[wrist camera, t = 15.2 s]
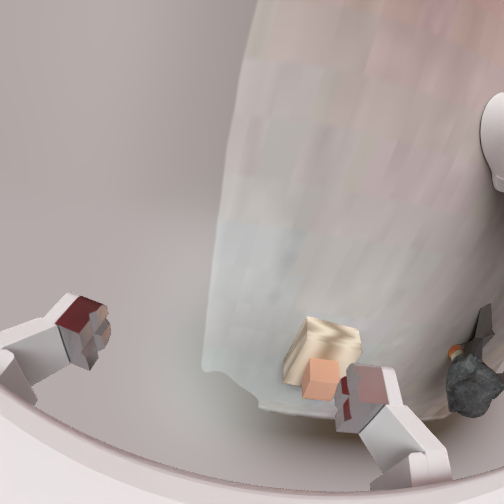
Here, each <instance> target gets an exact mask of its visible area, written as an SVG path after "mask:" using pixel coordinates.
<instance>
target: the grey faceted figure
mask: <svg viewBox="0 0 504 504" xmlns="http://www.w3.org/2000/svg"><path fill="white" fill-rule="evenodd" d="M494 335H495V333H494V332H493V330H492V317H491V303H490V304H488V305H487V306H485V307H483V308H481V309H480V313H479V319H478V324H477V329H476V334H475V338H474V339H472V340H471V341H469V342H467V343H465V344H460V345H459V344H458V345H455V346H453V347H451V349H450V350H449V352H448V355H449V357H450V359H451V360H452V363H453V364H452V365H451V366H450V368H449V371H448V374H447V378H446V379H447V381H446V392H447V398H448V408H449V411H450V412H456V411H457V412H458V413H459V414H460V415H462V416H466V417H470V418H476V417H480V416H482V415H484V414H485V412H486V411H487V410H488V408H489V406H490V403H491V401H492V399H495V398H496V397H497V396H498V395H499V394H500V393H501V392H502V391H503V390H504V372H503V373H500V374H496V373H495V372H494V371H493V370H492V369H490V368H489V367H488V366H487V365H486V364H485V363H484V362H483V361H482V348H483V347H484V346H485V345H486V343H487V342H488V341H489V340H490V339H491V338H492V337H493V336H494Z"/></svg>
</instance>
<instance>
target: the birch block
mask: <svg viewBox="0 0 504 504" xmlns="http://www.w3.org/2000/svg"><path fill="white" fill-rule="evenodd" d="M362 352H363V351H362V346H361V341H360V336H359V331H358V329H355V328H351V327H347V326H343V325H339V324H335V323H331V322H327V321H324V320H320V319H316V318H312V317H309V316H307V317H306V319H305V321H304V323H303V325H302V327H301V329H300V331H299V333H298V335H297V337H296V339H295V340H294V342H293V344H292V346H291V348H290V350H289V352H288V354H287V356H286V357H285V359H284V369H283V383H287V384H292V385H296V386H301V387H302V379H303V374H304V371H305V369H306V366H307V364H308V361H309V359H310V358H317V359H324V360H332V361H338V362H339V372H340V379H341V378H343V377H345V375H346V369H347V368H348V366H349V365H350V364H351V363H355V362H356V361H357V359H358V358H359V356H360V355H361V354H362Z"/></svg>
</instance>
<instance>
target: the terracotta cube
mask: <svg viewBox="0 0 504 504" xmlns="http://www.w3.org/2000/svg"><path fill="white" fill-rule="evenodd" d="M339 381H340V372H339V362H338V361H332V360H324V359H317V358H310V359H309V361H308V364H307V366H306V369H305V371H304V374H303V379H302V398H306V399H315V400H325V401H331V400H332V398H333V396H334V394H335V391H336V387H337V384H338V383H339Z"/></svg>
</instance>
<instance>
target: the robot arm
mask: <svg viewBox="0 0 504 504" xmlns="http://www.w3.org/2000/svg"><path fill="white" fill-rule="evenodd" d="M481 144H482V149H483V153H484V156H485V158H486V161H487V163H488V165H489V167H490V169H491V172H492V180H493V185H494V188H495V189H496V190H498V191H500V192H504V92H502V93H499V94H497V95H495V96H494V97H493V98H492V99H491V100H490V101H489V102H488V104H487V106H486V108H485V110H484V113H483V116H482V121H481ZM107 315H108V308H107V306H106V305H104V304H102V303H99V302H96V301H93V300H91V299H88V298H86V297H83V296H80V295H78V294H75V293H73V292H69V293H67V294H65V295H64V297H63V298H62V299H61V300H60V301H59V302H58V303H57V304H56V305H55V306H54V307H53V308H52V309H51V310H50V312H48V314H47V315H46V316H45V317H44V318H40V317H39V318H37V319H34V320H31V321H28V322H26V323H23V324H20V325H17V326H15V327H12V328H9V329H6V330H4V331H1V332H0V504H504V466H503V467H500V468H497V469H494V470H491V471H487V472H484V473H480V474H477V475H473V476H469V477H465V478H460V479H456V480H452V474H451V469H450V464H449V459H448V455H447V450H446V448H445V447H444V446H443V445H442V444H441V443H440V441H439V440H438V439H437V438H436V437H435V436H434V435H433V434H432V433H431V432H430V430H429V429H428V428H427V427H426V426H425V425H424V424H423V423H422V422H421V421H420V419H419V418H418V417H417V416H416V415H415V414H414V413H413V412H412V411H411V410H410V409H409V407H408V406H405V405H403V402H402V398H401V394H400V390H399V385H398V382H397V378H396V374H395V370H394V369H393V368H392V367H383V366H374V365H366V364H357V363H351V364H350V365H349V366H348V368H347V369H346V376H345V377H343V378H341V379H340V381H339V383H338V384H337V387H336V391H335V405H336V406H337V408H338V409H339V411H338V412H337V413H336V415H335V419H336V431H337V432H348V433H360V434H359V436H360V437H361V439H362V440H363V442H364V444H365V445H366V447H367V448H368V450H369V452H370V453H371V455H372V457H373V458H374V460H375V461H376V463H377V465H378V466H379V468H380V469H381V471H382V473H383V475H381V476H379V477H378V478H377V479H375V480H374V481H372V482H371V483H370V491H356V492H326V491H325V492H324V491H303V490H290V489H281V488H272V487H263V486H257V485H250V484H244V483H238V482H233V481H227V480H222V479H218V478H213V477H209V476H205V475H200V474H196V473H192V472H188V471H185V470H181V469H178V468H174V467H171V466H168V465H164V464H161V463H158V462H155V461H152V460H149V459H146V458H143V457H140V456H138V455H135V454H132V453H130V452H127V451H124V450H122V449H119V448H117V447H115V446H112V445H110V444H107V443H105V442H103V441H100V440H98V439H96V438H94V437H91V436H89V435H87V434H85V433H83V432H81V431H79V430H77V429H75V428H73V427H71V426H69V425H67V424H65V423H63V422H61V421H59V420H58V419H56V418H54V417H52V416H51V415H49V414H47V413H45V412H44V411H42V410H40V409H38V408H37V407H35V406H34V405H35V403H36V402H37V396H36V394H35V393H34V391H33V389H32V387H31V386H33V385H34V384H36V383H38V382H40V381H41V380H43V379H45V378H47V377H48V376H50V375H52V374H54V373H55V372H57V371H59V370H60V369H62V368H64V367H65V366H67V365H69V364H70V363H72V364H74V365H77V366H79V367H82V368H84V369H87V370H89V371H90V370H91V368H92V367H93V365H94V364H95V362H96V361H97V359H98V351H100V350H102V349H104V348H105V347H106V345H107V343H108V341H109V338H110V334H111V327H110V323H109V322H108V320H107V319H106V317H107Z"/></svg>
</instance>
